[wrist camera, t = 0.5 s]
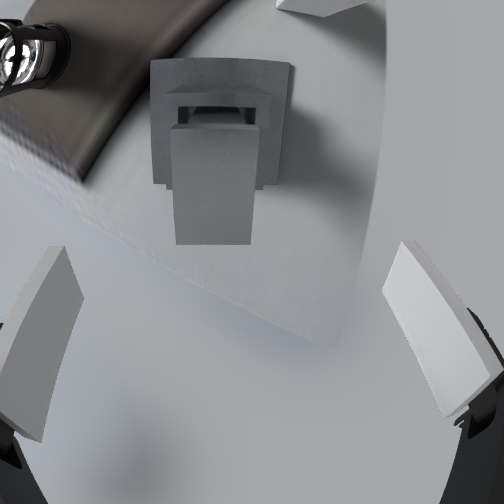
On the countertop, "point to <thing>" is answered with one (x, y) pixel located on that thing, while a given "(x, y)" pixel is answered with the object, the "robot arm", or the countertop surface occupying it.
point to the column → (214, 177)
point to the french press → (29, 55)
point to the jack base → (218, 104)
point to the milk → (318, 6)
